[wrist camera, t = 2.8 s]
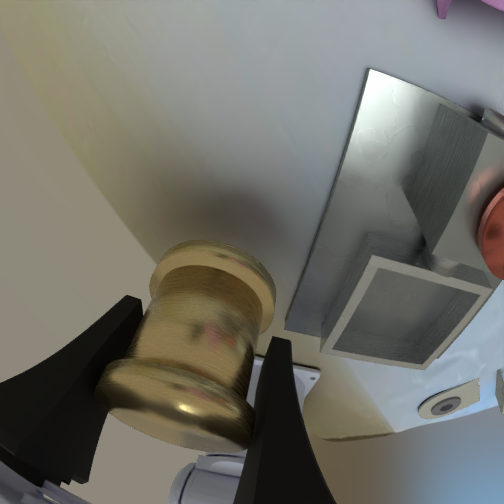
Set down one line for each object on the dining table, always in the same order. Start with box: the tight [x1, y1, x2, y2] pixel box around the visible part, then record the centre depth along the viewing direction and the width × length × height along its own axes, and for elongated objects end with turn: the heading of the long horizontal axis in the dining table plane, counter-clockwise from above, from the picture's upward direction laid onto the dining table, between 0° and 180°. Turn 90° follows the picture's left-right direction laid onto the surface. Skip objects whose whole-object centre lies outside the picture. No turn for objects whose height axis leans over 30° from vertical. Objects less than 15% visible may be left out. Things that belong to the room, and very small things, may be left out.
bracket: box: [418, 370, 504, 419], centre depth 25 cm, size 7×10×4 cm, turn 126°
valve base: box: [284, 68, 504, 370], centre depth 14 cm, size 18×13×7 cm
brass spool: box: [94, 240, 276, 453], centre depth 11 cm, size 5×5×6 cm
